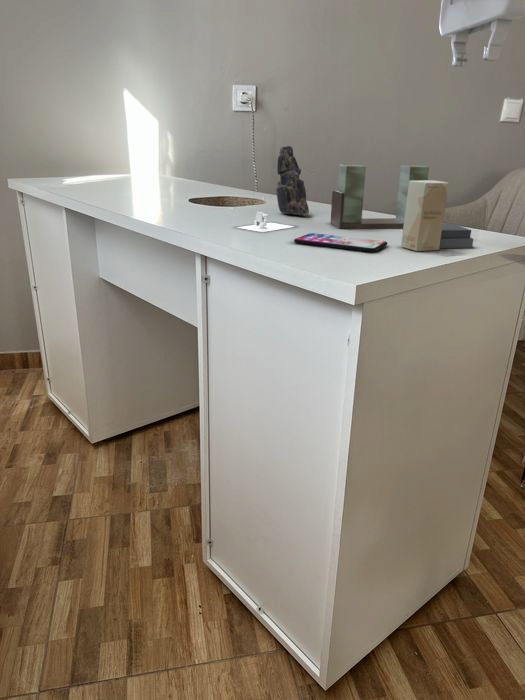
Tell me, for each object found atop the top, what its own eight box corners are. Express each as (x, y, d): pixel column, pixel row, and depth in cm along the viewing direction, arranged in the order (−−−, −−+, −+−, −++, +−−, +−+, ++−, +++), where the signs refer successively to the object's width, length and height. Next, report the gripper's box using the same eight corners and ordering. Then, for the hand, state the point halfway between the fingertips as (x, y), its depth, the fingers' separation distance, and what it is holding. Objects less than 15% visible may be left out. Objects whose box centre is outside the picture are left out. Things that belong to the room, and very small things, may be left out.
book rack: (414, 222, 122) (421, 165, 117) (428, 228, 115) (435, 167, 111) (330, 223, 119) (334, 164, 114) (339, 228, 112) (343, 166, 108)
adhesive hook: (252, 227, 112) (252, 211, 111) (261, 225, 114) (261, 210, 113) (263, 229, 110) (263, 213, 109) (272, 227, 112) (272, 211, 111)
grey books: (451, 239, 103) (453, 223, 102) (472, 247, 96) (474, 230, 95) (420, 239, 103) (422, 223, 101) (439, 248, 95) (441, 230, 94)
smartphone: (374, 249, 90) (291, 239, 97) (374, 253, 90) (291, 243, 97) (389, 241, 96) (310, 232, 103) (388, 244, 96) (310, 236, 103)
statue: (295, 218, 124) (298, 147, 119) (270, 211, 134) (271, 145, 129) (316, 217, 127) (320, 147, 121) (290, 210, 137) (292, 145, 131)
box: (416, 252, 92) (424, 182, 88) (399, 247, 96) (407, 180, 91) (440, 249, 94) (450, 181, 90) (423, 245, 98) (432, 179, 94)
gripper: (560, -70, 68) (535, 56, 73) (476, -27, 87) (461, 71, 92) (512, -75, 67) (491, 53, 72) (438, -31, 86) (425, 69, 91)
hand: (474, 63), depth 82 cm, fingers open, 8 cm apart
